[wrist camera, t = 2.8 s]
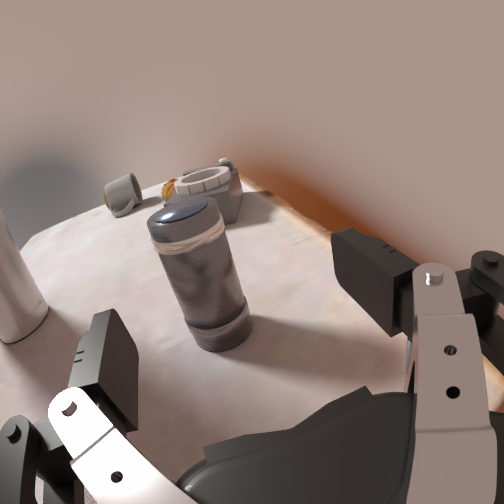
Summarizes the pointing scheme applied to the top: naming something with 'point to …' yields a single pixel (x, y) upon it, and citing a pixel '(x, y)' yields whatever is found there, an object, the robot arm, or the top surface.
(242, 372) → the top surface
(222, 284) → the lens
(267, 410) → the top surface
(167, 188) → the pastry
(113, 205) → the ceramic mug
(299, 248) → the top surface
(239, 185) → the grey socket block
